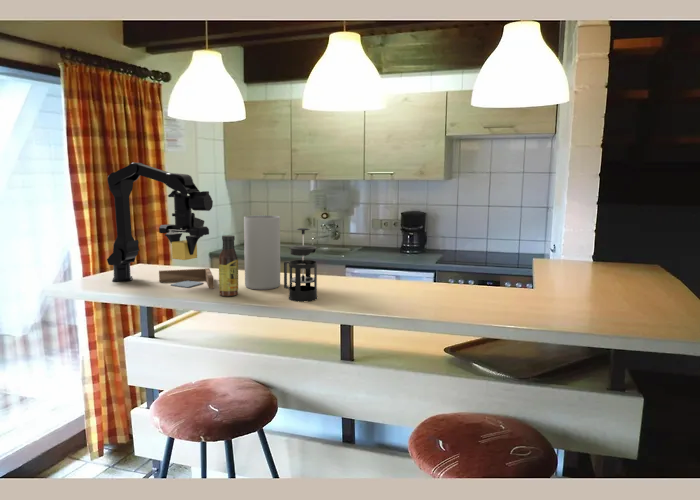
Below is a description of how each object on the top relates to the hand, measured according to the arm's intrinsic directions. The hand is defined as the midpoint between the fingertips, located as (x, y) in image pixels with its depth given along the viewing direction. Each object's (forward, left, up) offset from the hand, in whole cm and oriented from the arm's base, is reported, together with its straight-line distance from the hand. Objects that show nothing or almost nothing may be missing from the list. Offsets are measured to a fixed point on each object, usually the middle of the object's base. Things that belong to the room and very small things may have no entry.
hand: (184, 254), depth 183 cm
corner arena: (-1, 0, -11) cm, 11 cm away
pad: (0, 0, -11) cm, 11 cm away
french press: (+31, +35, -12) cm, 48 cm away
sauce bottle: (+20, +13, -12) cm, 26 cm away
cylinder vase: (+10, +26, -12) cm, 30 cm away
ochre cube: (0, 0, -2) cm, 2 cm away
